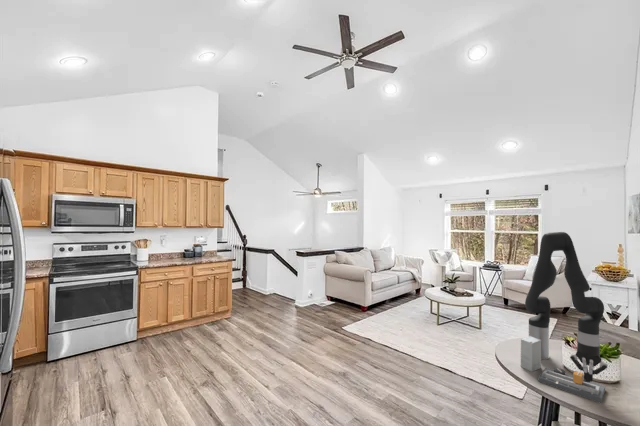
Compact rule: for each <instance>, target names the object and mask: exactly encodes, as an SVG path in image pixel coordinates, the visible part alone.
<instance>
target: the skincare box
mask: <svg viewBox="0 0 640 426" xmlns="http://www.w3.org/2000/svg"><path fill="white" fill-rule="evenodd" d="M520 367H521V368H523V369H525V370H527V371H530V372H535V371H537V370H539V369H541V368H542V359H541V340H539V339H536V338H534V337H531V336H529V335H528V336H526V337H524V338H521V339H520Z"/></svg>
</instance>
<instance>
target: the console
mask: <svg viewBox="0 0 640 426" xmlns="http://www.w3.org/2000/svg"><path fill="white" fill-rule="evenodd" d="M537 381H538V382H540V383H542V384H545V385H547V386H551V387H554V388H557V389H560V390H562V391H564V392H569V393H571V394H573V395H577V396H580V397H581V398H586V399H587V400H591V401H594V402H595V403H596V402H597V403H599V404H601V403H602V401H603V399H604V395H605V393H606V386H605V385H603V384H600V383H598V382H593V381H592V382H587V381H586V380H585V379H584V376H583V385H581V384H578V383H575V382H573V374H568V373H566V371H565V370H564V369H562V368H558V367H554V368H549V367H544V369H543V371H541V373H540V374H539V376H538V377H537Z"/></svg>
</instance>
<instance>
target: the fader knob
mask: <svg viewBox="0 0 640 426" xmlns="http://www.w3.org/2000/svg"><path fill="white" fill-rule="evenodd" d="M572 376H573V382H575V383H578V384H581V385H583V377H584V372H581V371H577V370H574V371H573V373H572Z"/></svg>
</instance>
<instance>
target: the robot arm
mask: <svg viewBox="0 0 640 426" xmlns="http://www.w3.org/2000/svg"><path fill="white" fill-rule="evenodd" d="M539 247H540V248H539V253H538V254H539V255H538V258H537V263H536V267H535V269H534V272H533V277H532V282H531V285H530V287H529V290H528V292H527V294H526V298H525V303H524V305H525V306H524V307H525V310H526V311H527V312H529V313H533V314H537V315H534V316H531V317H529V319H528V337H529V336H531V337H534V338H536V339H539V340H541V360H548V359H549V358H550V357H549V356H550V347H549V346H550V320H551V319H550V318H551V302H550V299H549V298H548V297H547V296H543V295H542V296H541V294H542V293H544V292H546V291H547V290H549V288H551V287H552V286H553V285H555V284H554V283H555V281H556V278H557V274H558V270H557V267H556V266H555V264H554V262H553V261H552V255H553V253H554V252H557V251H558V252H560V251H562V253H563V254H564V256H565V265H564V271H563V273H564V278H565V280H566V283H567V285H568V286H569V289H570V294H571V301H572V305H573V307H574V309H575V310H576V311H577V312H578V313H580V314H585V315H584V316H582V317H579V318H578V320H577V335H576V340H577V343H576V345H577V346H576V347H577V348H576V349H577V350H576V352H575V354H571V355H570V357H569V358H570V360H571V361H572V362H573V364H574V365H575V366H576V367H577V369H578V370H579V371H582V373H583V377H584V379H585V380H586V381H587V382H593V381H594V375H599V374H600V373H602V372H603V371H605V370H606V369H607V368H608V364H607V363H604V362H603V361H602V358H601V350H600V349H601V347H600V346H601V341H600V340H601V339H600V324H601V321H602V319H603V315H604V313H605V312H604V311H605V306H604V305H605V304H604V303H603V301H602V300H601V299H600V298H599V297H595V296H586V295H585V294H586V292H589V291H590V289H591V288H590V285H589V283H588V281H587V279H586V276H585V274H584V273H583V270H582V268H581V266H580V263H579V258H578V256H577V253H576V249H575V246H574V242H573V240H572V238H571V236H570V235H569V233H567V232H565V231H560V232H559V231H556V232H546V233H544V234H543V235H542V237H541V240H540V245H539ZM580 362H581V363H580ZM598 364H599V367H598V368H596V369H594V367H596V366H598Z"/></svg>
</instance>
